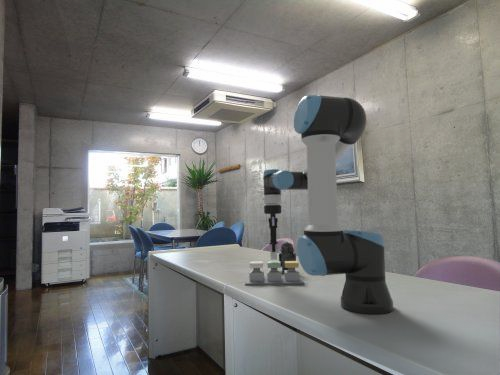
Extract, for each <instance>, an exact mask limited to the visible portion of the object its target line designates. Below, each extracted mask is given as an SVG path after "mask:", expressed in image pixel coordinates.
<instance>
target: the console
mask: <svg viewBox="0 0 500 375" xmlns="http://www.w3.org/2000/svg"><path fill="white" fill-rule="evenodd" d="M277 270H278V269H277ZM281 271H282V269H281V270H278V272H271V269H270V270H269V269H268V270H267V271H266V275H265V271H264V269H263V270H261V269H260V273H253V270H250V271H249V273H248V275H247V277H246V280H245V283H244V285H245V286H305V284H306V283H305V280H304V279H303V277H302V275H301V274H300V270H298V269H295V272H288V270H284V274H282V273H281Z"/></svg>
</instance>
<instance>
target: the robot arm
mask: <svg viewBox="0 0 500 375" xmlns="http://www.w3.org/2000/svg"><path fill="white" fill-rule="evenodd" d="M366 125H367V114H366V111H365V109H364V107H363V105H362V104H361V103H360V102H359V101H357V100H355V99H353V98H350V97H339V96H330V95H321V94H317V95H316V94H307V95H305V96H303V97H302V98H301V99H300V100H299V103H298V104H297V107H296V109H295V112H294V117H293V129H294V132H295V133H297V134H298V135H301V136H300V138H301V140H300V141H301V143H303V144H304V145H305V147H306V169H304V171H289V170H286V169H284V170H280V169H276V168H269V169H265V170H264V171H263V177H262V179H263V197H262V200H263V203H264V206H263V210H264V211H263V214H264V215H269V216H270V217H269V218H268V227H269V230H270V232H269V233H270V240H269V242H268V245H269V246H270V247H269V248H270V260H271V261H276V260H277V261H278V249H277V248H278V247H277V246H278V245H279V244H278V243H279V242H278V241H277V228H278V221H279V220H278V217H276V214H277V215H280V214H282V205H281V204H282V192H281V191H283V190H284V191H285V190H290V191H294V190H296V191H298V190H299V191H303V190H304V191H307V203H308V204H307V205H308V206H307V208H308V209H307V211H308V224H307V225H306V226H305V227H304V228H303V235H302V236H299V237H298V239H297V243H296V253H297V254H296V255H297V257H298V263H299V264H300V266H301V268H302V269H303V271H304V272H305V273H306V274H308V275H309V276H312V277H313V276H317V277H319V276H320V277H325V276H333V275H334V276H335V275H344V274H345V282H344V284H343V289H342V293H341V295H340V306H341V308H342V309H345V310H346V311H350V312H353V313H359V314H367V315H370V314H371V315H380V314H381V315H382V314H387V313H391V312H392V311H394V301H393V298H392V296H391V293H390V292H391V291H390V289H389V287H388V285H387V282H386V265H385V264H386V263H385V260H386V259H385V249H386V248H385V244H384V238H383V235H382V234H381V233H379V232H374V231H364V230H354V229H353V230H352V229H343V227H342V226H340V224H339V218H338V217H339V216H338V214H339V213H338V187H337V184H338V183H337V161H338V160H339V159H340V157H342V155H343V154H344V153H345V152H346V151H347V149H348V148H349V146H353V145H354V144H357V142H358V141H359V139H361V137H362V136H363V134H364V132H365V129H366Z"/></svg>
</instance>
